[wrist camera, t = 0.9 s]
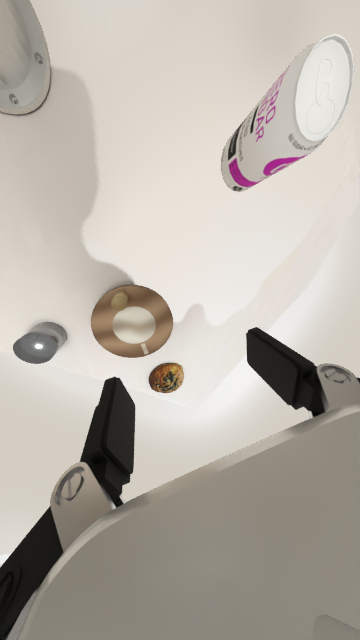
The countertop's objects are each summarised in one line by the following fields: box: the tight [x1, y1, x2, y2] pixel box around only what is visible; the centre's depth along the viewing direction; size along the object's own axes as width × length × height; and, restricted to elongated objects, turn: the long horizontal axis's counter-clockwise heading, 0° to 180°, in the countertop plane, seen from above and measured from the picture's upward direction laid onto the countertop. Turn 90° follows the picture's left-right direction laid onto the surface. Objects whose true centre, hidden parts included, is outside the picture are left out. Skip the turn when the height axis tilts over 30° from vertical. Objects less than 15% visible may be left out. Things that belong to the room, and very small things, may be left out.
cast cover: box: [13, 322, 67, 364], centre depth 30 cm, size 6×6×6 cm
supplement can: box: [221, 34, 354, 192], centre depth 22 cm, size 8×8×15 cm
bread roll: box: [149, 363, 184, 393], centre depth 45 cm, size 11×11×5 cm
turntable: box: [91, 285, 173, 358], centre depth 31 cm, size 17×17×7 cm
